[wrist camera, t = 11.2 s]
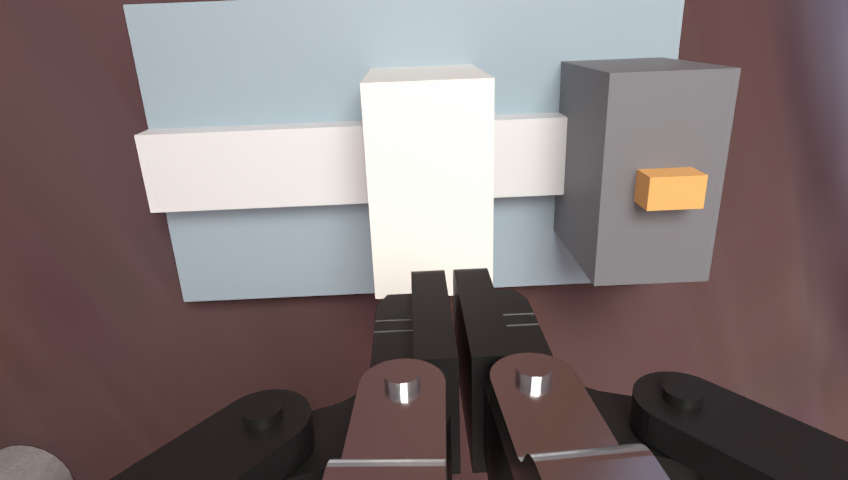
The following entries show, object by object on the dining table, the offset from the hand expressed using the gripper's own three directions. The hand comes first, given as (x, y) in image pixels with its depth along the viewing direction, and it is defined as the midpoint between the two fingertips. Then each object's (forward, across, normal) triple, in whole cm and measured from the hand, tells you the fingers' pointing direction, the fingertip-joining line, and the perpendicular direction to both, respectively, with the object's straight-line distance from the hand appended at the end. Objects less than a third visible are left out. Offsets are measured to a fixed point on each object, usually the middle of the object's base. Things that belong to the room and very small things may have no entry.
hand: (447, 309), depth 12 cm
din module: (+16, 0, 0) cm, 16 cm away
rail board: (+17, 0, 0) cm, 17 cm away
